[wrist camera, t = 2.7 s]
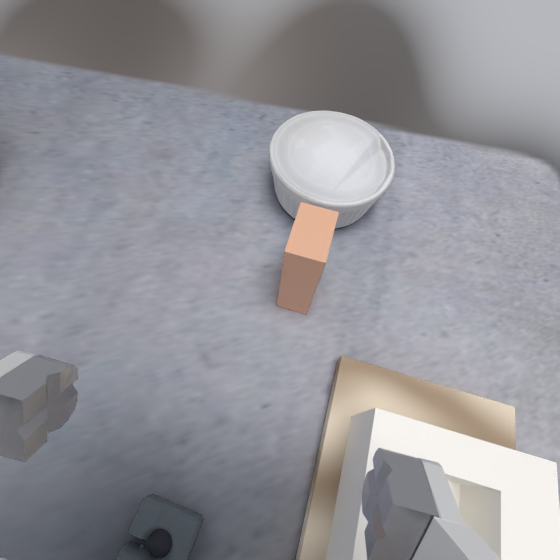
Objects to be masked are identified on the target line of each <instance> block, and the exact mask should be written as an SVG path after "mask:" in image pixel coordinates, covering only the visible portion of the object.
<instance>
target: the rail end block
mask: <svg viewBox="0 0 560 560" xmlns="http://www.w3.org/2000/svg"><path fill="white" fill-rule="evenodd" d="M338 214H339V212H336V211H333V210H329V209H325V208H322V207H318V206H314V205H310V204H307V203H303V202H301V203H300V206H299V209H298V212H297V215H296V218H295V221H294V224H293V227H292V231H291V234H290V237H289V240H288V243H287V246H286V249H285V252H284V259H283V266H282V273H281V280H280V287H279V294H278V301H277V306H278V307H282V308H285V309H289V310H292V311H296V312H299V313H302V314H306V315H307V312H308V309H309V307H310V304H311V301H312V298H313V296H314V293H315V290H316V288H317V285H318V282H319V280H320V277H321V274H322V272H323V269H324V266H325V264H326V260H327V256H328V252H329V249H330V245H331V241H332V237H333V233H334V229H335V226H336V222H337V218H338Z"/></svg>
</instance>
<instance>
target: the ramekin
mask: <svg viewBox="0 0 560 560" xmlns="http://www.w3.org/2000/svg"><path fill="white" fill-rule="evenodd" d="M269 163H270V168H271V171H272V174H273V179H274V186H275V192H276V195H277V198H278V200H279V202H280V204H281V205H282V207H283V208H284V209H285V210H286V211H287V213H288V214H290V215H291V216H292V217H293V218H296V215H297V212H298V209H299V206H300V203H301V202H303V203H307V204H310V205H314V206H318V207H322V208H325V209H329V210H333V211H336V212H339V214H338V218H337V222H336V226H335V228H339V227H344V226H348V225H350V224H352V223H354V222H355V221H357V220H358V219H360V218H361V217H362V216H363V215H364V214H365V213H366V212H367V210H368V209H369V208H370V207H371V206H372V205H373V203H375V202H376V201H377V200H378V199H380V198H381V197H382V196H383V194H384V193H385V192H386V191H387V189H388V188H389V186H390V184H391V181H392V179H393V176H394V171H395V162H394V156H393V153H392V150H391V148H390V146H389V144H388V142H387V141H386V140H385V138H384V137H383V136H382V135H381V134H380V133H379V132H378V131H377V130H376V129H375V128H373V127H372V126H371V125H369V124H368V123H366V122H364V121H363V120H361V119H358V118H356V117H354V116H351V115H348V114H344V113H340V112H333V111H312V112H307V113H303V114H299V115H296V116H294V117H292V118H290V119H289V120H287V121H286V122H284V123H283V124H282V125H281V126H280V127H279V128H278V129H277V130H276V132H275V133H274V135H273V137H272V139H271V143H270V147H269Z"/></svg>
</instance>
